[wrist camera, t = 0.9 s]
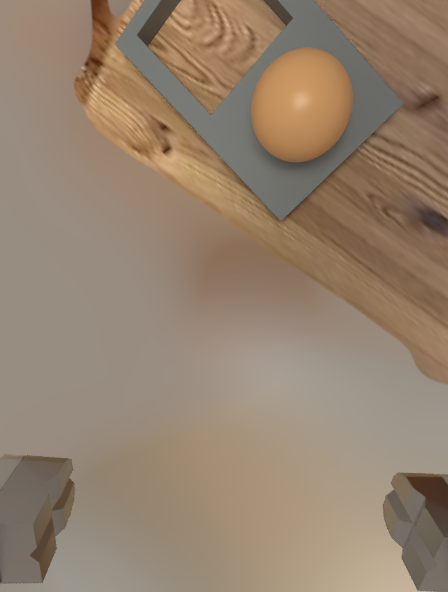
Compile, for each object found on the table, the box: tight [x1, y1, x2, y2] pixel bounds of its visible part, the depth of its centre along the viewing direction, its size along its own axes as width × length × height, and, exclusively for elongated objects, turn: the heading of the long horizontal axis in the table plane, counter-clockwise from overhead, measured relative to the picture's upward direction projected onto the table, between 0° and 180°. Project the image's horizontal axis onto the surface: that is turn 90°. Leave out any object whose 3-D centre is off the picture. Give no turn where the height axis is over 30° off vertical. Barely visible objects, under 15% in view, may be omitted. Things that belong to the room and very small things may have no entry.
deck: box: [115, 0, 404, 221], centre depth 39 cm, size 29×18×3 cm, turn 45°
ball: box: [251, 47, 353, 162], centre depth 33 cm, size 10×10×10 cm
